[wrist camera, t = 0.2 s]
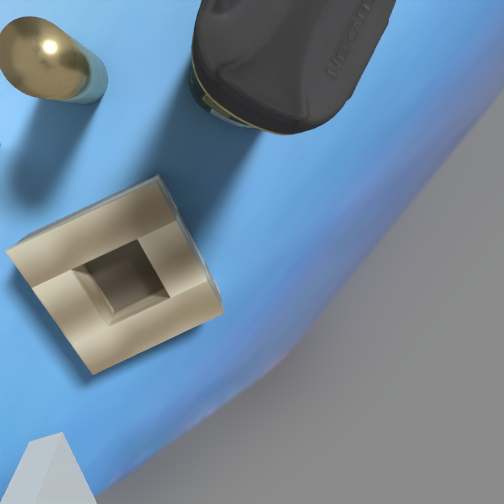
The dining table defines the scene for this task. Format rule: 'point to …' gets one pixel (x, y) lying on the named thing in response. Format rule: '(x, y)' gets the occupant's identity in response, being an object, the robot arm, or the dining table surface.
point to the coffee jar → (282, 59)
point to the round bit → (50, 62)
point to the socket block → (120, 274)
